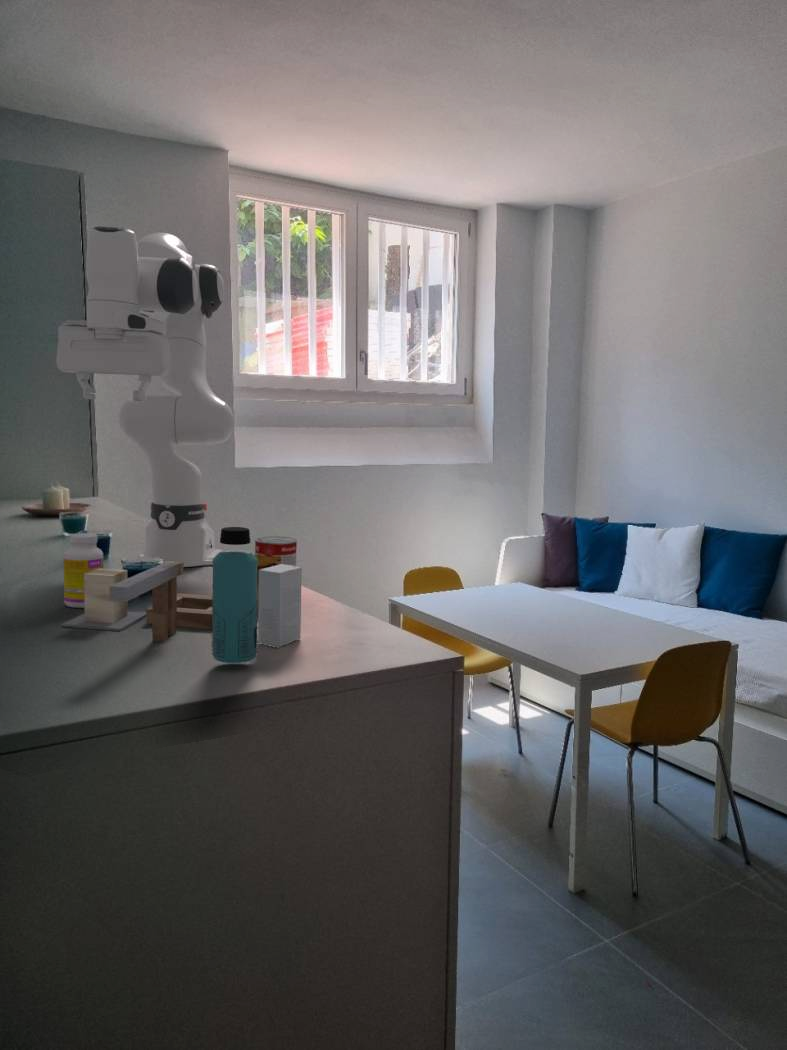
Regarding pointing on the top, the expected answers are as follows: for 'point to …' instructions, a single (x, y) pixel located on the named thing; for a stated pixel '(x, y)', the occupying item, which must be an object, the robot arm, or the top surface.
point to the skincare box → (279, 605)
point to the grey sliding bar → (145, 581)
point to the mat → (117, 626)
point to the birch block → (103, 596)
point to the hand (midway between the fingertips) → (114, 400)
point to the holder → (176, 611)
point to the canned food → (274, 552)
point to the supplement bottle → (79, 566)
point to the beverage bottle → (234, 600)
